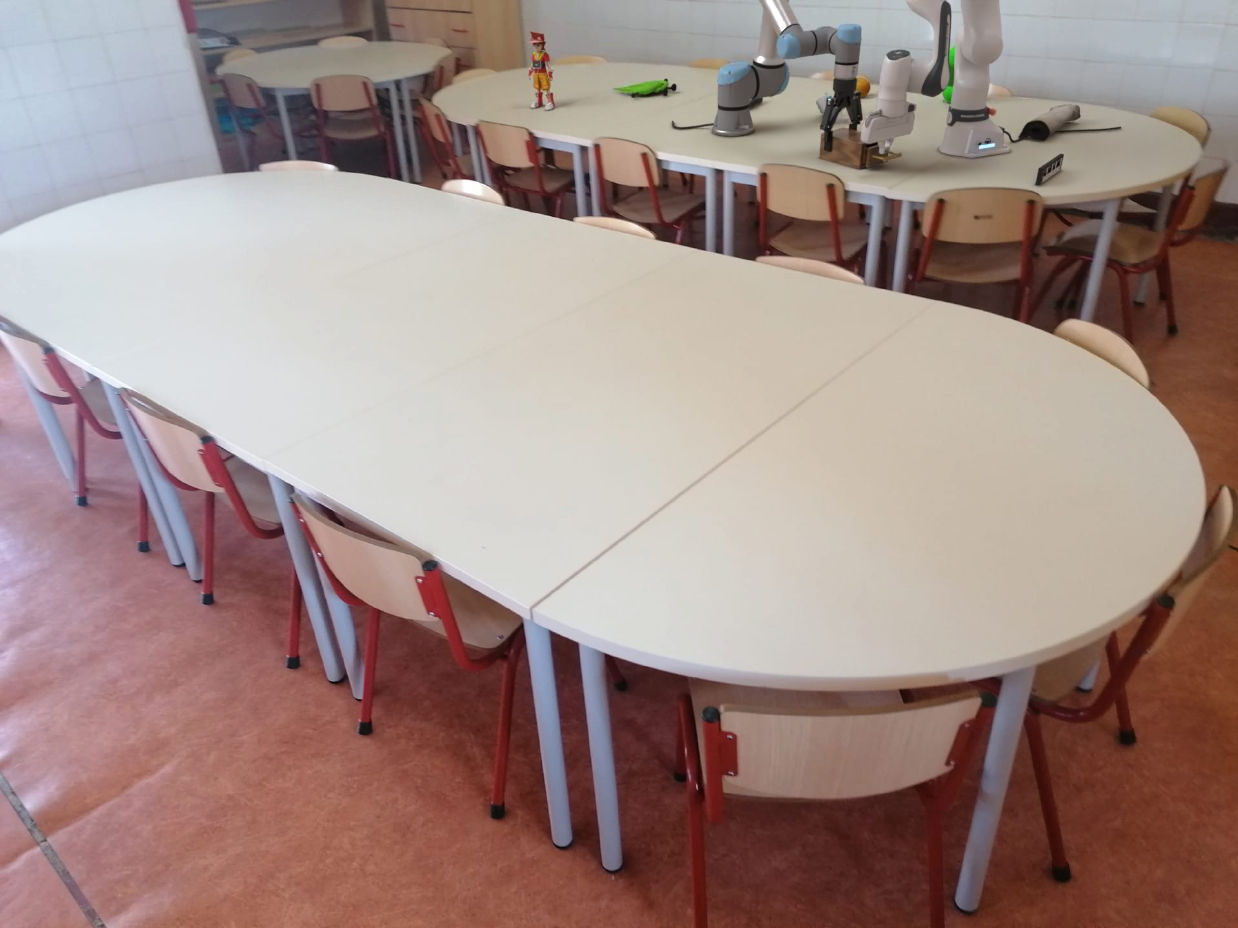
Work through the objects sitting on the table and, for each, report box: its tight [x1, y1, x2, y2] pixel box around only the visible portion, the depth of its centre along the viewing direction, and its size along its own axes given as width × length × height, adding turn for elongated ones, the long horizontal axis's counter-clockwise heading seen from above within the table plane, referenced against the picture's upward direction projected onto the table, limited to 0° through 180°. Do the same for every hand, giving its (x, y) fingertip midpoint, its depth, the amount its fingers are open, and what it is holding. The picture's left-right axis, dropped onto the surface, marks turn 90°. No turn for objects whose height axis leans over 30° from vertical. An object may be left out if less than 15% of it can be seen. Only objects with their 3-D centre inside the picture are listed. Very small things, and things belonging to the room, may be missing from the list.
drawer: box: [862, 142, 903, 169], centre depth 293 cm, size 22×9×6 cm, turn 35°
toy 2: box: [612, 78, 677, 99], centre depth 396 cm, size 28×5×30 cm
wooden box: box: [818, 126, 876, 170], centre depth 298 cm, size 18×10×8 cm, turn 35°
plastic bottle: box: [942, 45, 955, 104], centre depth 348 cm, size 10×10×25 cm
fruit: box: [855, 77, 871, 98], centre depth 368 cm, size 8×8×8 cm
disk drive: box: [749, 97, 764, 110], centre depth 367 cm, size 10×3×15 cm
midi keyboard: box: [1035, 153, 1065, 186], centre depth 273 cm, size 18×1×5 cm, turn 138°
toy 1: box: [527, 31, 556, 111], centre depth 374 cm, size 12×9×30 cm
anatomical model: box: [815, 92, 850, 124], centre depth 341 cm, size 15×10×10 cm
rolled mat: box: [1017, 103, 1082, 142], centre depth 314 cm, size 30×9×10 cm
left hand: (839, 147), depth 302 cm, fingers closed on wooden box, 11 cm apart
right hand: (883, 153), depth 287 cm, fingers closed
